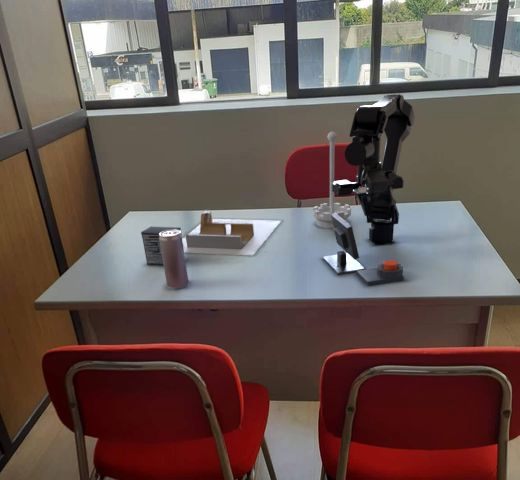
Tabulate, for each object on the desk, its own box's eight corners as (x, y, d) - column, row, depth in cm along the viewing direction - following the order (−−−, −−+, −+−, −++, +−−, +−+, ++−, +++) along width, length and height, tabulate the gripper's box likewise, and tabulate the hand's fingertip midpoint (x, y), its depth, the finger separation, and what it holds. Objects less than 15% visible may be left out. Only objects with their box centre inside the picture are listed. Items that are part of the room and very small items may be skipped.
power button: (393, 265, 140) (394, 259, 139) (399, 270, 137) (400, 263, 136) (381, 267, 139) (381, 261, 139) (386, 272, 136) (387, 265, 136)
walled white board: (166, 251, 169) (163, 229, 165) (206, 218, 197) (204, 198, 193) (252, 255, 161) (250, 231, 157) (281, 220, 189) (280, 199, 185)
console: (393, 269, 144) (393, 259, 143) (406, 280, 137) (407, 269, 136) (356, 274, 143) (356, 264, 141) (368, 286, 136) (368, 275, 134)
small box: (186, 259, 161) (181, 226, 156) (177, 267, 156) (171, 233, 151) (156, 257, 165) (150, 225, 159) (146, 265, 159) (140, 232, 154)
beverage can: (168, 281, 147) (159, 230, 139) (189, 279, 147) (181, 228, 140) (166, 290, 142) (157, 237, 134) (188, 288, 142) (180, 235, 134)
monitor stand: (348, 255, 155) (348, 243, 153) (365, 271, 144) (365, 258, 142) (322, 259, 154) (322, 246, 152) (337, 275, 143) (337, 262, 141)
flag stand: (353, 227, 177) (355, 133, 162) (314, 230, 178) (313, 136, 162) (348, 216, 188) (350, 127, 173) (312, 218, 189) (310, 130, 173)
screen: (343, 242, 153) (335, 212, 148) (359, 257, 142) (352, 226, 137) (334, 246, 153) (326, 216, 148) (350, 261, 142) (342, 229, 137)
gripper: (346, 167, 130) (345, 228, 138) (415, 159, 133) (410, 219, 141) (331, 159, 140) (331, 217, 148) (396, 152, 143) (392, 208, 151)
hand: (366, 215), depth 147 cm, fingers closed
